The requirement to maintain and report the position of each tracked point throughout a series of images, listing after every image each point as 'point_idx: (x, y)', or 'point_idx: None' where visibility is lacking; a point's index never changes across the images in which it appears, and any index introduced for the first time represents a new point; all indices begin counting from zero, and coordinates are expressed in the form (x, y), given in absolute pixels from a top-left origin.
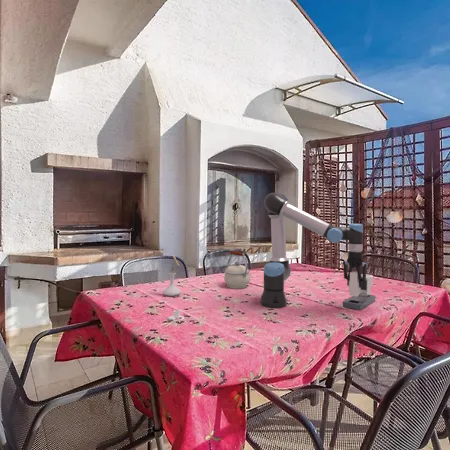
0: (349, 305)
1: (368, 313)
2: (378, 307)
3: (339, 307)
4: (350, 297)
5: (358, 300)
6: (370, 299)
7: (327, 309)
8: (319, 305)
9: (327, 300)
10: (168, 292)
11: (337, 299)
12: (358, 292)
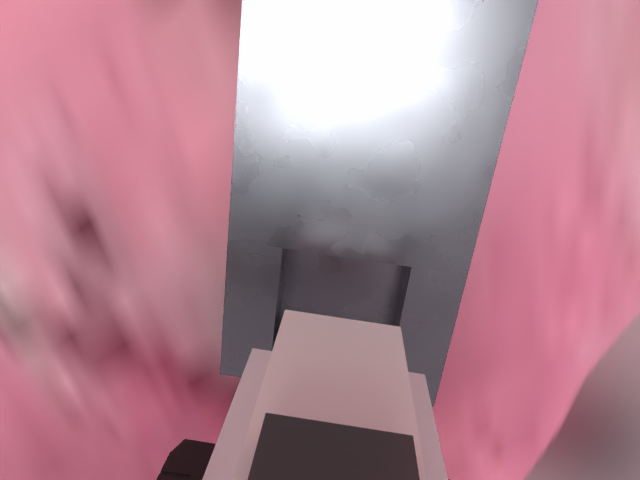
0: None
1: (508, 422)
2: (618, 142)
3: (219, 374)
4: (238, 115)
5: (377, 225)
6: (533, 4)
7: (156, 477)
8: (44, 404)
9: (2, 181)
10: None
11: (68, 51)
12: None
